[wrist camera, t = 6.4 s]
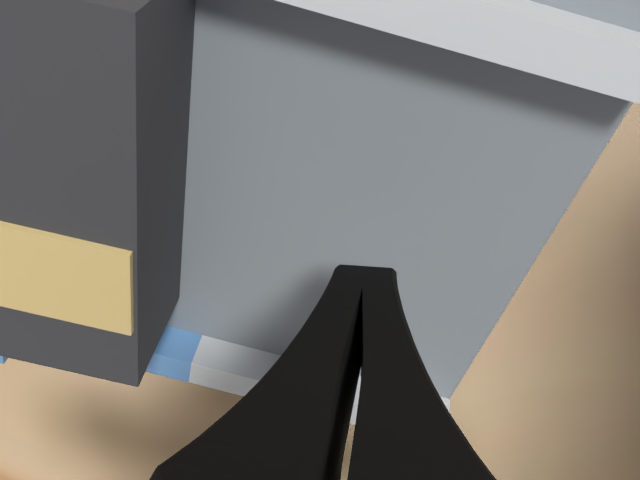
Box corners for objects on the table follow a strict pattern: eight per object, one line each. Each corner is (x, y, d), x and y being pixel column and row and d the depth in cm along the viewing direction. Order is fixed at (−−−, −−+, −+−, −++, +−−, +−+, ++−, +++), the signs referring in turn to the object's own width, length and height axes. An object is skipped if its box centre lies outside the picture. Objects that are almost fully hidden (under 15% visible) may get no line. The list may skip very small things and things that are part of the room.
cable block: (197, -39, 12) (131, 16, 10) (179, 297, 19) (136, 392, 16) (-38, -95, 12) (-176, -57, 9) (22, 261, 19) (-50, 349, 16)
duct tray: (690, -35, 12) (761, 14, 10) (426, 412, 22) (427, 493, 20) (-137, -279, 11) (-293, -296, 9) (-27, 296, 21) (-86, 364, 19)
